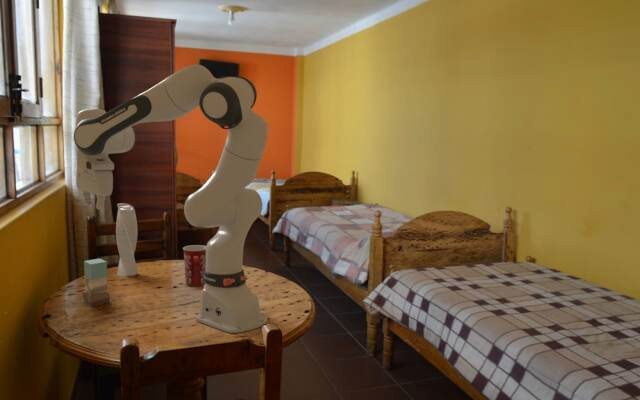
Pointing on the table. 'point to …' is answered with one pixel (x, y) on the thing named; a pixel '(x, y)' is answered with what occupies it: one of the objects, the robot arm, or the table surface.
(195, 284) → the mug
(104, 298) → the walnut base
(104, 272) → the teal block
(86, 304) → the mat
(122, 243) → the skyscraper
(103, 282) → the maple block
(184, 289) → the table surface
